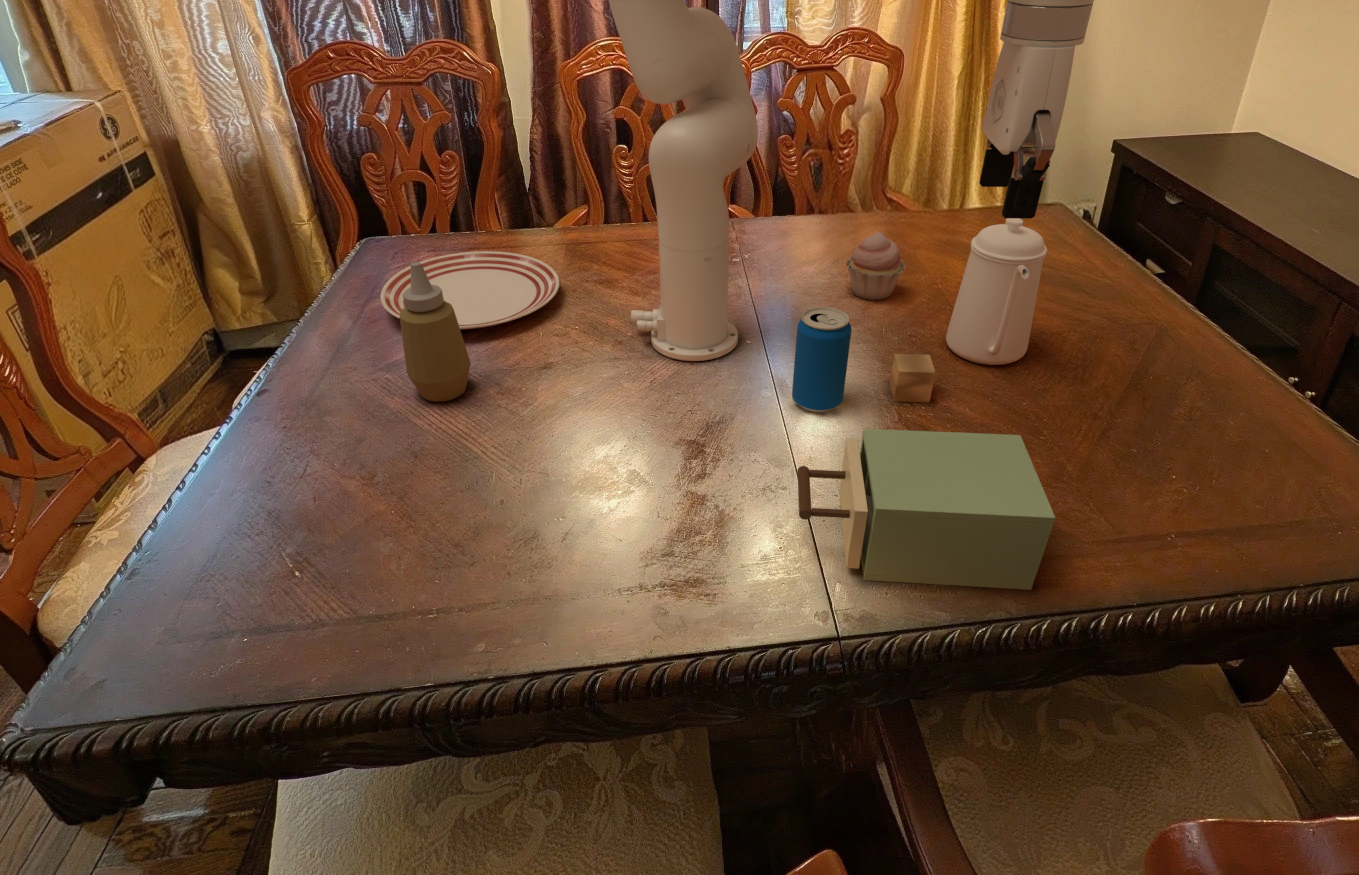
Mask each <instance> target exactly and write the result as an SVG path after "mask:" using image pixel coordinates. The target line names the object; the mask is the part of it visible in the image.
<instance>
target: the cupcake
mask: <svg viewBox="0 0 1359 875" xmlns="http://www.w3.org/2000/svg"><path fill="white" fill-rule="evenodd" d="M899 249H900V248H899V246H898V244H897V243H896V242H894V240H891V239H888V238H887V236H886V235H885V234H884V233H883V232H882V231H880V230H878V231H876V233H874V234H872V235H869V236H867V237H865V238H864V239H862V241H860V244H859V245H858V246H857V247H856V248H855V249H854V250H853V252H852V255H849V259H847V260H845V261H844V262H845V265H846V268H847V270H848V273H849V278H850V286H851V287H850V288H851V291H852V293H853V294H854V295H855V296H856V297H858V298H861V299H865V300H871V301H872V300H873V301H877V300H884V299H887V298H889V297H890V296H891V295H892V294H893V292H894V290H895V287H896V284H897V282H898V280H899V278H900V276H901V275H902V273H903V272H904V271H905V269H906V267H907V266H906V265H905V264H903V262H904V260H903V259H901V253H900V250H899Z"/></svg>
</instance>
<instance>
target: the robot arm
mask: <svg viewBox="0 0 1359 875" xmlns="http://www.w3.org/2000/svg"><path fill="white" fill-rule="evenodd" d="M1094 1H1095V0H1007V1H1006V6H1005V12H1004V16H1003V22H1002V26H1001V33H1000V36H999V40H1000V41H1001V42H1003V43H1002V47H1001V49H1000V52H999V56H998V59H997V63H996V66H995V70H994V74H993V77H992V81H991V86H990V89H989V95H988V98H987V102H986V107H985V111H984V116H983V119H982V120H983V121H982V129H981V130H982V132H983V134H984V136H985V137H986V138H987V141H986V149H985V153H984V157H983V163H982V166H981V172H980V178H979V181H978V182H979V185H980V186H981V187H982V188H1006V191H1005V192H1006V193H1005V197H1004V202H1003V205H1002V209H1001V215H1002V217H1003V218H1004V219H1007V218H1019V219H1033V218H1034V217H1036V213H1037V209H1038V205H1039V201H1040V197H1041V193H1042V190H1043V185H1044V181H1045V180H1046V178H1047V172H1048V170H1049V168H1050V166H1051V165H1050V164H1051V159H1052V156H1053V155H1054V151H1055V150H1056V141H1057V138H1058V135H1059V130H1060V128H1061V123H1062V119H1063V116H1064V110H1065V106H1066V101H1067V96H1068V91H1069V86H1070V80H1071V75H1072V69H1073V63H1074V56H1075V49H1076V46H1080V45H1082V44H1084V43H1085V38H1086V33H1087V30H1088V26H1089V23H1090V22H1089V21H1090V18H1091V15H1092V9H1093V6H1094ZM608 3H609V4H608V5H609V7H610V11H611V14H612V18H613V21H614V23H615V27H616V29H617V30H616V31H617V33H618V35H619V36H618V37H619V39H620V42H621V45H622V48H623V51H624V55H625V58H626V61H627V64H628V67H629V70H630V73H631V76H632V79H633V81H634V83H635V85H636V87H637V89H638V91H639V93H640V94H641V95H642V96H643V97H644V98H645V99H646V101H647V100H648V101H649V102H651V103H653V104H657V105H668V104H673V103H676V102H679V101H683V104H684V108H685V110H683V111H681V112H679V113H677V114H675V115H673V116H672V117H670V118H669V119H667V120H666V121H665V122H664V123H663V124H661V126H660V127H659V128H658V130H657V131H656V132H655V134H654V135H653V137H652V139H651V142H650V145H649V147H648V148H649V149H648V168H649V169H648V170H649V174H650V178H651V183H652V186H653V187H652V188H653V193H654V199H655V206H656V219H657V240H658V263H659V264H658V265H659V291H660V292H659V293H660V294H659V295H660V298H659V299H660V305H659V308H653V309H652V310H651V311H650V310H643V309H642V310H638V309H637V310H636V309H632V310H631V311H630V324H635V325H636V330H637V331H651V332H650V343H651V345H652V347H653V348H654V349H655V351H657V352H658V353H660V354H661V355H663V356H665V357H668V358H669V359H674V360H679V361H684V362H685V361H686V362H703V361H704V362H705V361H708V360H709V361H710V360H714V359H717V358H720V357H723V356H725V355H727V354H729V353H730V352H732V351H733V350H734V349H735V348H736V346H737V345H738V342H739V331H738V329H737V327H736V326H735V325H734V324H733V323H731V322H730V321H728V320H729V279H730V278H729V275H730V213H729V208H728V202H727V199H726V195H725V191H724V180H725V179H726V178H727V177H728V176H730V175H731V174H732V173H735V171H737V170H739V169H740V168H741V167H743V166H744V165H745V164H746V163H747V162H749V160H750V159H751V158H752V156H753V154H755V150H756V148H757V144H758V139H759V129H758V128H759V127H758V126H759V125H758V120H757V115H756V111H755V108H754V103H753V99H752V96H751V92H750V88H749V85H748V80H747V78H746V74H745V70H744V66H743V63H742V59H741V55H740V52H739V49H738V45H737V42H736V39H735V37H734V35H733V33H732V31H731V29H730V28H729V26H728V24H727V23H726V22H725V21H724V20H723V19H722V17H721V16H720V15H718V14H717V13H716V12H714V11H713V10H710V9H708V8H705V7H700V6H699V7H698V6H691V7H688V5H687V2H686V0H608ZM1024 158H1028V159H1027V161H1026V162H1025V163H1024ZM1012 175H1013V177H1012Z"/></svg>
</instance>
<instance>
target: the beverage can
mask: <svg viewBox="0 0 1359 875" xmlns="http://www.w3.org/2000/svg"><path fill="white" fill-rule="evenodd" d="M796 326H797V327H796V337H795V338H796V339H795V351H794V363H793V375H792V376H793V377H792V390H791V397H792V401H794V403H795V404H797V405H798V406H800V407H801V408H802V409H804V410H806V411H808V412H812V413H826V412H829V411H831V410H833V409H836V408H838V407H840V405H841V404H842V403H843V401H844V396H845V395H844V394H845V387H846V380H847V378H846V377H847V371H848V361H849V354H850V348H851V347H850V345H851V337H852V330H853V329H852V325H851V322H850V317H849V315H848V314H847V313H846V312H845V311H843V310H841V309H838V308H834V307H830V306H829V307H828V306H816V307H811V308H808V309H806V310H805V311H803V312H802V314H801V318H800V320H798V322H797V325H796Z"/></svg>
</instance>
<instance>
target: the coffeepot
mask: <svg viewBox="0 0 1359 875" xmlns="http://www.w3.org/2000/svg"><path fill="white" fill-rule="evenodd" d="M1047 253H1048V248H1047V245H1045V241H1044V238H1043V236H1042V235H1041V234H1040V233H1039V232H1037V231H1036V230H1034V229H1032V228H1030V227H1027V226H1024V220H1023V218H1005V222H1004V223H999V224H998V223H997V224H992V225H988V226H986V227H984V228H982V229H981V230H980V231H979V232H978V233H977V235H976V236H974V237H973V238H972V239H971V241H970V252H969V255H968V259H967V261H966V265H965V268H964V272H963V276H962V278H961V279H962V280H961V282H960V286H959V290H958V293H957V297H956V300H955V302H954V307H953V310H952V314H951V317H950V320H949V324H948V327H947V330H946V334H945V342H946V345H947V347H949V350H951V351H952V352H953V353H954V354H956V355H957V356H958V357H960V358H962V359H964V360H966V361H969V362H972V363H976V364H980V365H986V366H987V365H989V366H1003V365H1009V364H1011V363H1014V362H1017V361H1018V360H1020V359H1021V358H1023V357H1024V356H1025V354H1026V353H1027V351H1028V348H1029V342H1030V336H1031V331H1032V325H1033V319H1034V315H1035V309H1036V304H1037V296H1038V293H1039V286H1040V280H1041V276H1042V270H1043V264H1044V259H1045V258H1046V256H1047Z"/></svg>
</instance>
